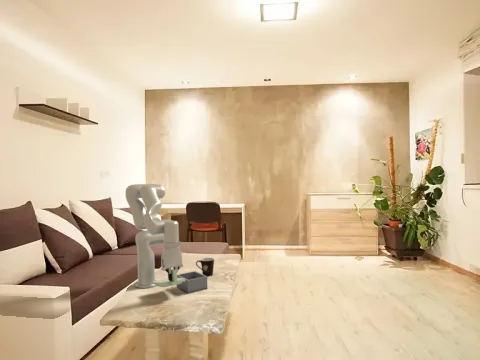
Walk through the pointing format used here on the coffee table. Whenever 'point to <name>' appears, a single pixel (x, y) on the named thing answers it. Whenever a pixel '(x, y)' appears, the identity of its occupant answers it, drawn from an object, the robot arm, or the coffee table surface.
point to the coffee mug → (207, 266)
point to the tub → (192, 282)
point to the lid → (169, 283)
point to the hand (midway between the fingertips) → (172, 280)
